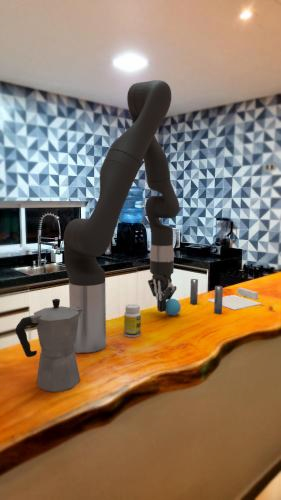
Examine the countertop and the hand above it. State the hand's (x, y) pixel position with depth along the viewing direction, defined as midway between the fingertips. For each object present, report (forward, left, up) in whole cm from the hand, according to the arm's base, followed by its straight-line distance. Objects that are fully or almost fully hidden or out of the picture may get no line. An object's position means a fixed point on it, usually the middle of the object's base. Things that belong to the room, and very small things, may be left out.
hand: (161, 310), depth 119 cm
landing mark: (+32, -1, -2) cm, 32 cm away
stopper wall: (+43, +2, -2) cm, 43 cm away
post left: (+18, +6, -2) cm, 19 cm away
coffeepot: (-44, -24, -2) cm, 50 cm away
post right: (+18, -7, -2) cm, 20 cm away
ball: (+4, -1, +1) cm, 4 cm away
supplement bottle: (-16, -9, -2) cm, 18 cm away
